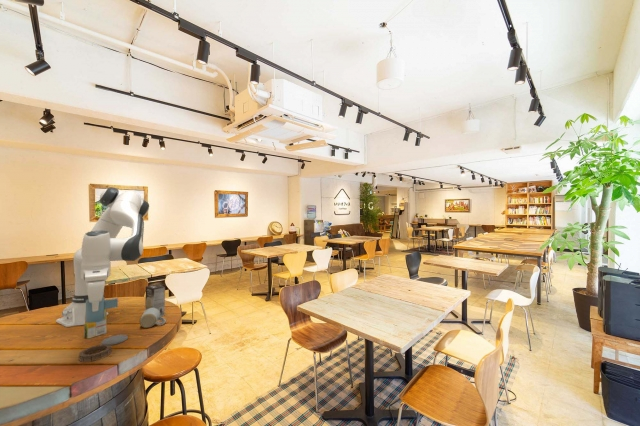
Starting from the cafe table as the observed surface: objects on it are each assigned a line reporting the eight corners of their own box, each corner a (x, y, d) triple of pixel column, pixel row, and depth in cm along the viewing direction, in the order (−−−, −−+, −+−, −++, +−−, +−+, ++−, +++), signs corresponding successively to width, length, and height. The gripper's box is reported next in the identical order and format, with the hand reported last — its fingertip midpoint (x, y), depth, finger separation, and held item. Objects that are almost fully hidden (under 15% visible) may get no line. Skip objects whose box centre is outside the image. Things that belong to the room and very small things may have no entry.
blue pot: (85, 323, 98) (85, 302, 98) (85, 319, 102) (86, 298, 103) (117, 317, 104) (118, 297, 105) (116, 314, 109) (117, 294, 109)
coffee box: (144, 316, 144) (144, 286, 145) (156, 312, 150) (157, 284, 150) (152, 319, 139) (153, 288, 140) (165, 315, 145) (165, 286, 145)
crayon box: (103, 331, 124) (104, 306, 124) (106, 333, 122) (107, 307, 123) (84, 337, 117) (84, 311, 118) (87, 339, 116) (87, 312, 116)
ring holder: (73, 359, 99) (73, 353, 99) (100, 347, 108) (100, 342, 108) (89, 363, 96) (89, 357, 96) (116, 351, 105) (116, 346, 105)
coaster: (96, 343, 112) (96, 342, 112) (118, 335, 120) (118, 333, 120) (110, 347, 109) (110, 345, 109) (132, 337, 117) (132, 336, 117)
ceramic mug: (138, 329, 126) (139, 313, 126) (142, 323, 133) (143, 308, 134) (164, 326, 130) (164, 311, 130) (166, 321, 137) (167, 306, 138)
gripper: (85, 269, 108) (84, 303, 108) (84, 278, 93) (83, 317, 93) (105, 268, 113) (104, 300, 112) (107, 275, 97) (106, 313, 97)
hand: (95, 308), depth 102 cm, fingers closed on blue pot, 6 cm apart
